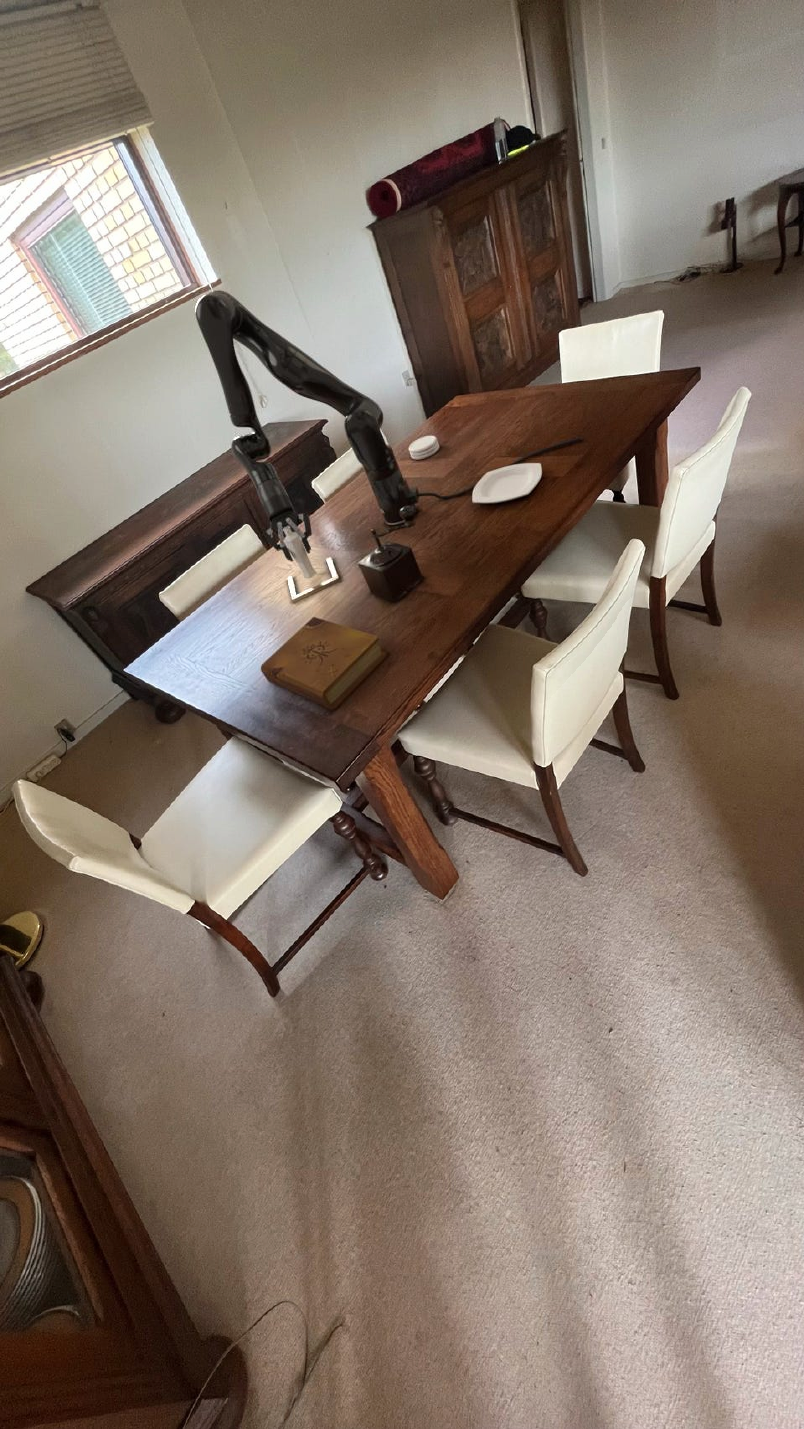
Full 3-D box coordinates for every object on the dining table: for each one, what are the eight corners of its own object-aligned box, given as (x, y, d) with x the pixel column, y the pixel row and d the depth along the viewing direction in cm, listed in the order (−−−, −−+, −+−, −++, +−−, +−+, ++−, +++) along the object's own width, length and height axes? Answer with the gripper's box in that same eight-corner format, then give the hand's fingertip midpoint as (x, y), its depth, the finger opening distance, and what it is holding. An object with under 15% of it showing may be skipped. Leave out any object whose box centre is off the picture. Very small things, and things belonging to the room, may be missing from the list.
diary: (270, 685, 148) (258, 667, 144) (323, 634, 155) (313, 616, 151) (331, 712, 133) (320, 693, 129) (387, 655, 140) (377, 635, 136)
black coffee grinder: (396, 603, 153) (369, 541, 141) (370, 593, 160) (341, 533, 149) (440, 567, 157) (417, 503, 146) (412, 559, 165) (388, 497, 153)
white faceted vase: (315, 577, 174) (291, 531, 164) (302, 580, 176) (277, 534, 166) (319, 568, 177) (296, 521, 167) (306, 570, 179) (282, 525, 169)
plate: (466, 512, 172) (464, 506, 171) (484, 476, 183) (482, 470, 182) (534, 502, 163) (533, 496, 161) (549, 465, 174) (548, 458, 173)
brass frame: (288, 580, 181) (286, 578, 181) (332, 560, 181) (330, 557, 180) (293, 602, 171) (291, 600, 171) (340, 581, 171) (338, 578, 170)
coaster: (444, 443, 210) (441, 433, 208) (431, 459, 205) (427, 449, 203) (420, 446, 216) (417, 436, 213) (406, 461, 211) (402, 451, 209)
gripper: (247, 507, 168) (272, 563, 167) (295, 484, 167) (321, 541, 166) (256, 516, 175) (280, 571, 174) (301, 494, 175) (326, 549, 174)
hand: (300, 556), depth 170 cm, fingers closed on white faceted vase, 4 cm apart
